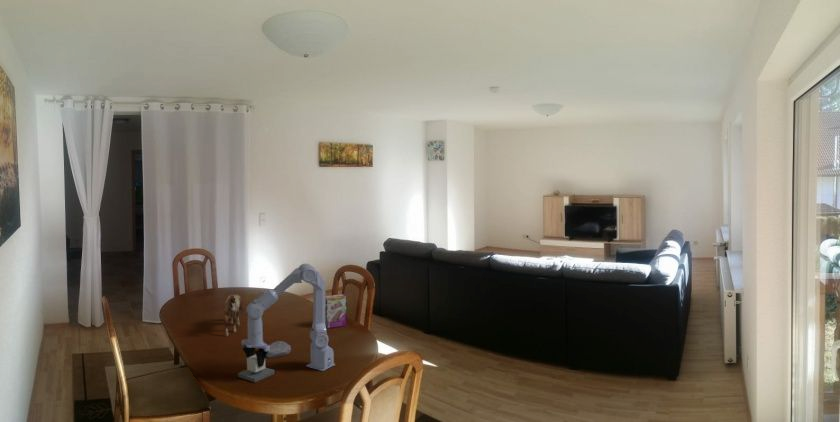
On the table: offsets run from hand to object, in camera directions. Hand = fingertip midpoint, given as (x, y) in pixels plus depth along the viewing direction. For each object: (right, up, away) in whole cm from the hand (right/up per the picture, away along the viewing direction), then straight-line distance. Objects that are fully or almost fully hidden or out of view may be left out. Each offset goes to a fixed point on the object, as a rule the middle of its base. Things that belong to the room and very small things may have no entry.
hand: (256, 364), depth 209 cm
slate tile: (0, -4, 0) cm, 4 cm away
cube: (0, -2, 0) cm, 2 cm away
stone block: (+2, -3, +24) cm, 25 cm away
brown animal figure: (-27, +1, +59) cm, 65 cm away
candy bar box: (+22, +1, +63) cm, 67 cm away
